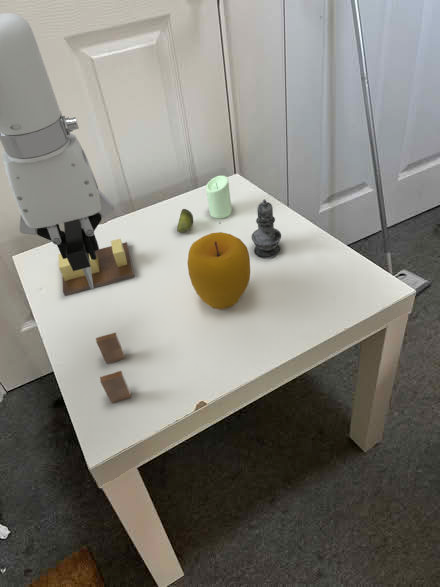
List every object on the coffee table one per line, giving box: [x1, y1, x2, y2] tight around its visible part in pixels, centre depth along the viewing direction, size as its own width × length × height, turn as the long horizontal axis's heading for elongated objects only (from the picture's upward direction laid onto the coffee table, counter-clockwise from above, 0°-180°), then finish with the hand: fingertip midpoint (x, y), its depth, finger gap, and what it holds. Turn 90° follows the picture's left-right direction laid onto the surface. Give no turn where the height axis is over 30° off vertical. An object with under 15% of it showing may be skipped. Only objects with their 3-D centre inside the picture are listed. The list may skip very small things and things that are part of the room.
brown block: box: [95, 332, 132, 404], centre depth 72 cm, size 3×9×6 cm, turn 16°
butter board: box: [61, 241, 136, 297], centre depth 94 cm, size 14×11×1 cm
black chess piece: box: [251, 199, 282, 260], centre depth 89 cm, size 6×6×12 cm
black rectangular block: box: [63, 219, 95, 290], centre depth 67 cm, size 2×10×8 cm, turn 17°
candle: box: [205, 175, 233, 219], centre depth 101 cm, size 5×5×8 cm
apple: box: [187, 231, 251, 310], centre depth 80 cm, size 11×11×13 cm
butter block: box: [58, 253, 100, 281], centre depth 92 cm, size 7×4×4 cm, turn 106°
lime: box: [176, 208, 194, 233], centre depth 99 cm, size 4×5×5 cm
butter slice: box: [110, 238, 127, 267], centre depth 93 cm, size 2×4×4 cm, turn 16°
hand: (82, 256), depth 67 cm, fingers closed on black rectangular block, 2 cm apart
